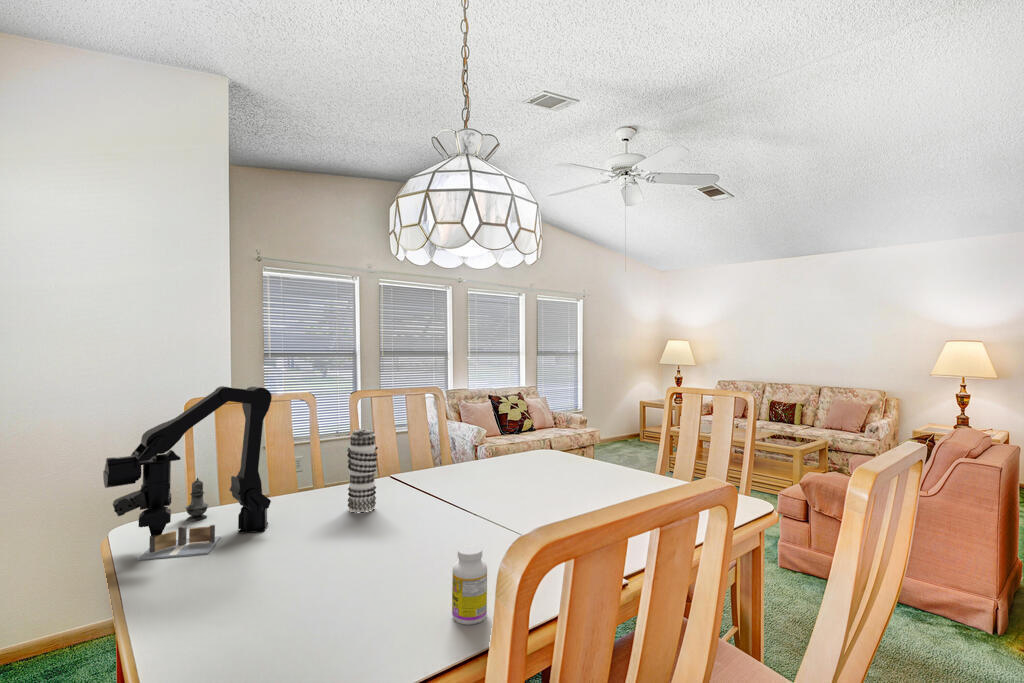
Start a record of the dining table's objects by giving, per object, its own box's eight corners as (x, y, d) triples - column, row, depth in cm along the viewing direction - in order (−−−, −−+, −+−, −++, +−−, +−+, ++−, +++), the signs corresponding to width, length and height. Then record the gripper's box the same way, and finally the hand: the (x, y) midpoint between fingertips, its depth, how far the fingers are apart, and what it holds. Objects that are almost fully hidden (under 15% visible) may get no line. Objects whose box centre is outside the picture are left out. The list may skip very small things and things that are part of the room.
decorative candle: (351, 504, 168) (352, 427, 168) (379, 504, 168) (380, 427, 168) (342, 513, 159) (343, 432, 159) (373, 513, 159) (374, 432, 159)
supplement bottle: (452, 608, 102) (453, 543, 102) (486, 607, 102) (486, 542, 102) (451, 627, 95) (452, 556, 95) (487, 625, 96) (488, 555, 96)
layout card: (220, 537, 138) (220, 535, 138) (208, 554, 127) (208, 552, 127) (156, 542, 134) (156, 541, 134) (137, 560, 123) (137, 558, 123)
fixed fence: (215, 542, 135) (215, 523, 135) (213, 544, 133) (213, 525, 133) (179, 545, 133) (179, 526, 133) (176, 547, 131) (177, 528, 131)
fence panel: (173, 544, 131) (174, 529, 131) (176, 545, 130) (176, 530, 130) (148, 551, 126) (148, 536, 126) (150, 552, 125) (151, 537, 125)
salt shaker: (197, 522, 150) (198, 480, 150) (180, 520, 151) (180, 479, 151) (213, 515, 155) (213, 475, 156) (196, 514, 157) (196, 474, 157)
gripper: (119, 474, 132) (118, 535, 132) (111, 495, 116) (110, 564, 116) (172, 469, 138) (170, 527, 138) (171, 488, 122) (169, 554, 122)
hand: (155, 542), depth 128 cm, fingers closed
